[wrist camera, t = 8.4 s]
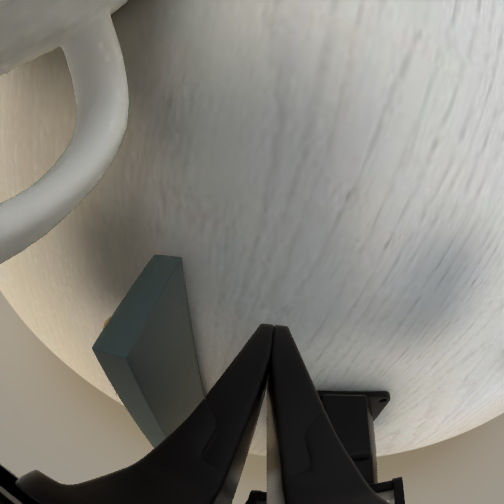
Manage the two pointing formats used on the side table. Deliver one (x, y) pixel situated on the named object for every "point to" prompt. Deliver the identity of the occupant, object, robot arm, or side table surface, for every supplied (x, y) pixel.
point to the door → (153, 350)
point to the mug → (87, 106)
